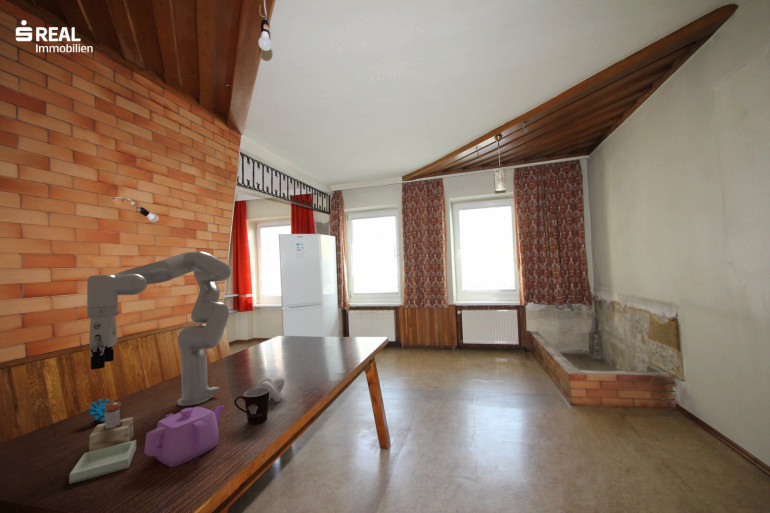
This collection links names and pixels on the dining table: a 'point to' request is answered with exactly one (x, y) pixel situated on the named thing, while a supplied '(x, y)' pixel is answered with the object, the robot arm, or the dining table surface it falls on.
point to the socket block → (111, 435)
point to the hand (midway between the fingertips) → (102, 364)
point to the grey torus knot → (272, 387)
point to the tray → (103, 461)
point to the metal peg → (112, 415)
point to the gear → (98, 409)
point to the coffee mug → (255, 405)
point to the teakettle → (184, 435)
